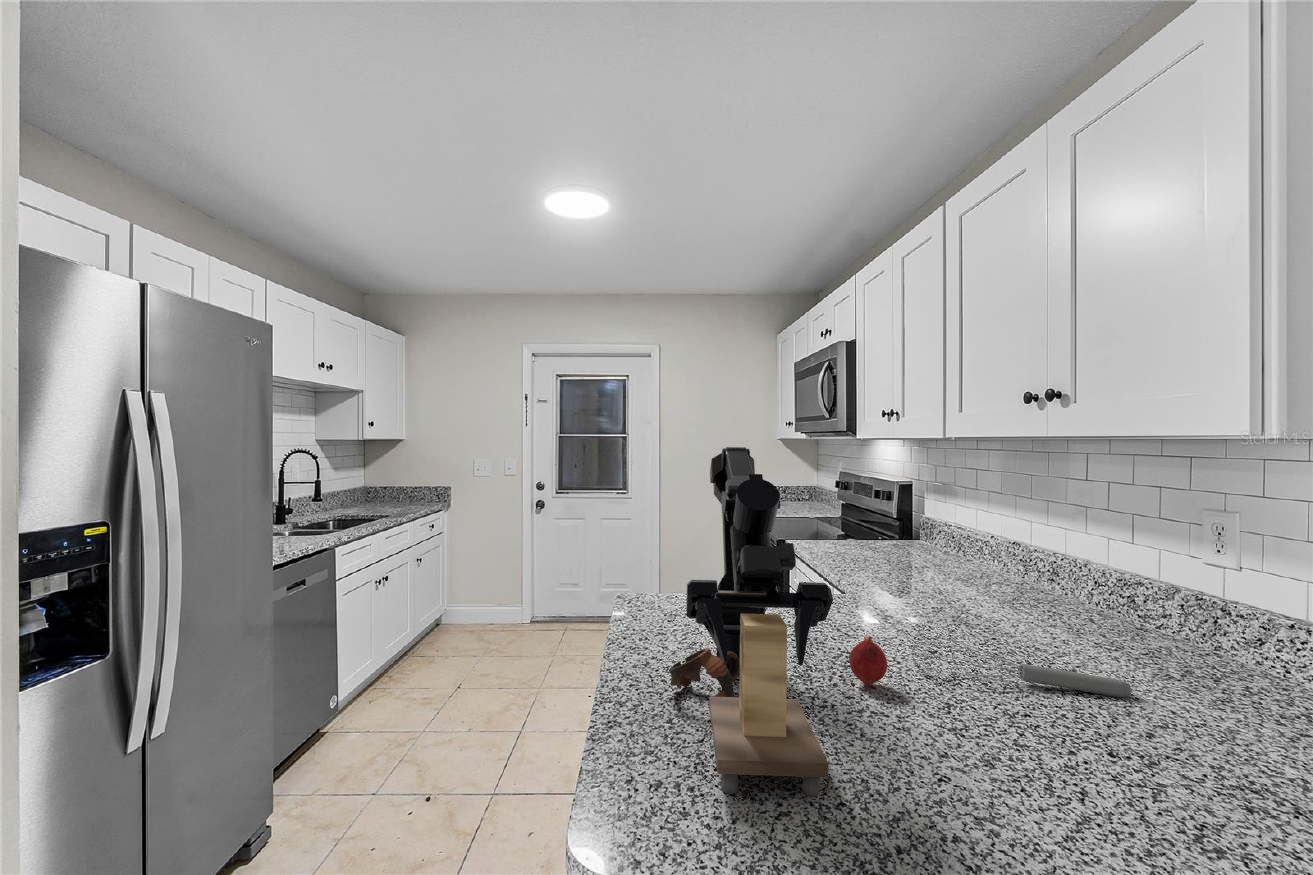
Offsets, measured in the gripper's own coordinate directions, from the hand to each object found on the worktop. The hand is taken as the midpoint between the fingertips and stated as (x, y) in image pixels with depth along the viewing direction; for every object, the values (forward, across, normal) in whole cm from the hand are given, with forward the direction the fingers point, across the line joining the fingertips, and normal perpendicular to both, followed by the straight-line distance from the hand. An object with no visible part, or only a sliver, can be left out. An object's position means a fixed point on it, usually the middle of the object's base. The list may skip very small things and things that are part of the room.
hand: (763, 663), depth 69 cm
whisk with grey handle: (-10, +46, +28) cm, 55 cm away
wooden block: (+5, 0, +6) cm, 8 cm away
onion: (-8, +21, +26) cm, 34 cm away
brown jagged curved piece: (-4, -6, +22) cm, 23 cm away
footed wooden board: (+8, 0, +9) cm, 12 cm away
